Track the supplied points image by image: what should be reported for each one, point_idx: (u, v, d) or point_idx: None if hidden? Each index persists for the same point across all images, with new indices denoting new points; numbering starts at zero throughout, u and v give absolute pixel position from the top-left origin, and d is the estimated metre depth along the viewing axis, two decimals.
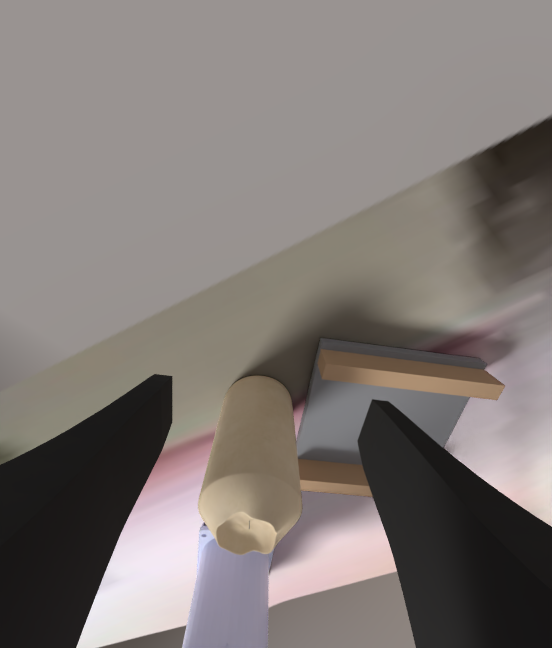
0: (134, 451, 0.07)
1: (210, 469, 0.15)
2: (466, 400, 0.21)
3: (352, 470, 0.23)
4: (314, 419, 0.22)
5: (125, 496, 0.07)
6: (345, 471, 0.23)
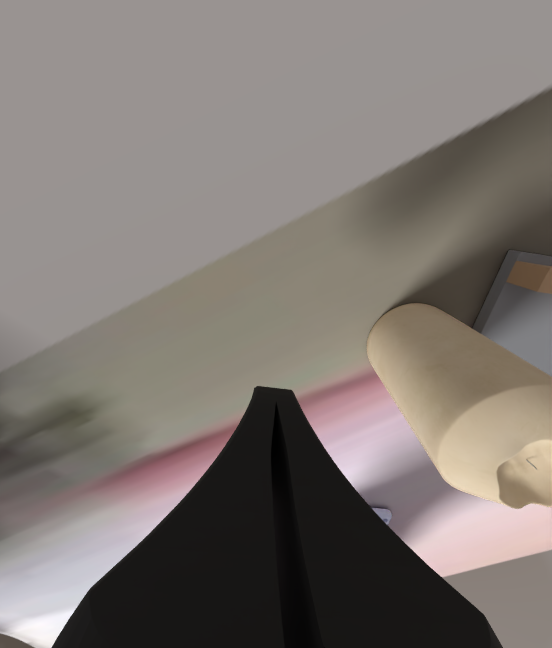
0: None
1: (449, 391, 0.10)
2: None
3: None
4: None
5: None
6: None
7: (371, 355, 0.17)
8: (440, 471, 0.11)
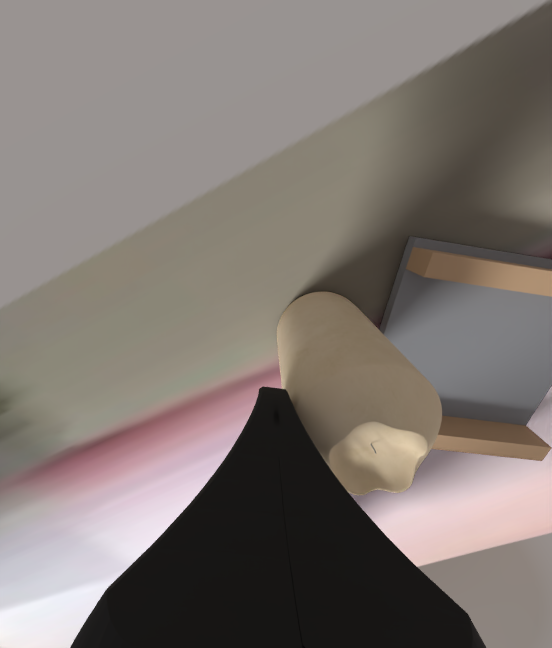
0: None
1: (302, 375, 0.10)
2: None
3: None
4: None
5: None
6: None
7: (277, 345, 0.16)
8: None
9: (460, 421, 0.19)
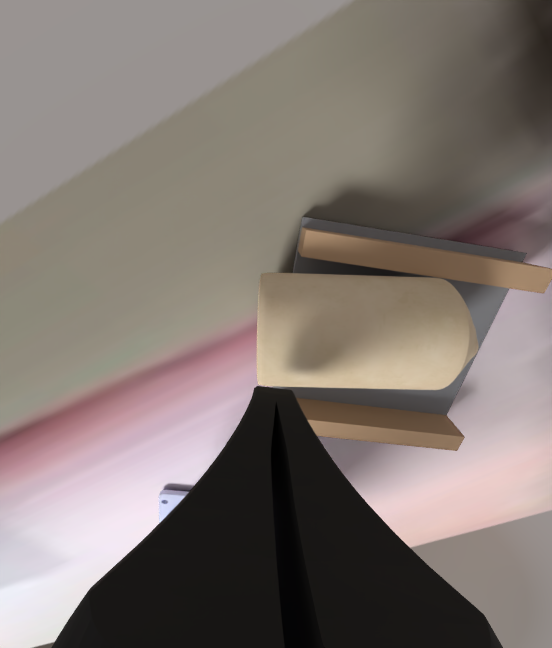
0: None
1: (440, 303, 0.11)
2: (496, 310, 0.16)
3: (346, 409, 0.18)
4: None
5: None
6: (337, 410, 0.18)
7: (286, 350, 0.11)
8: (458, 374, 0.12)
9: (376, 410, 0.19)
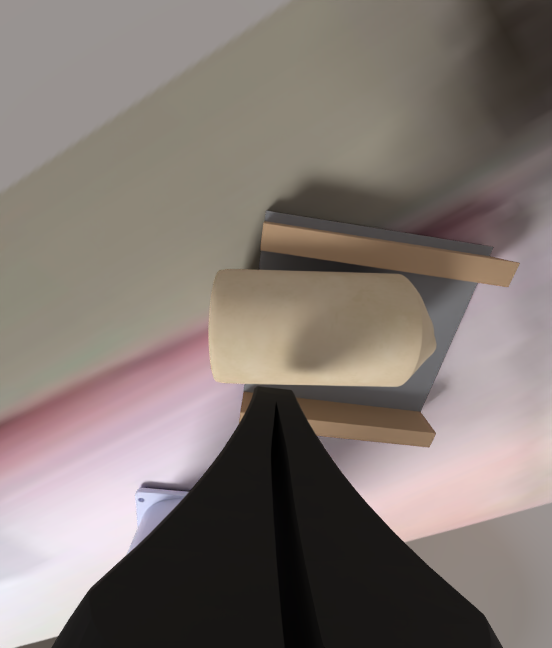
0: None
1: (394, 301, 0.11)
2: (465, 305, 0.16)
3: (317, 406, 0.18)
4: None
5: None
6: (308, 406, 0.18)
7: (237, 349, 0.11)
8: (413, 372, 0.12)
9: (348, 407, 0.18)
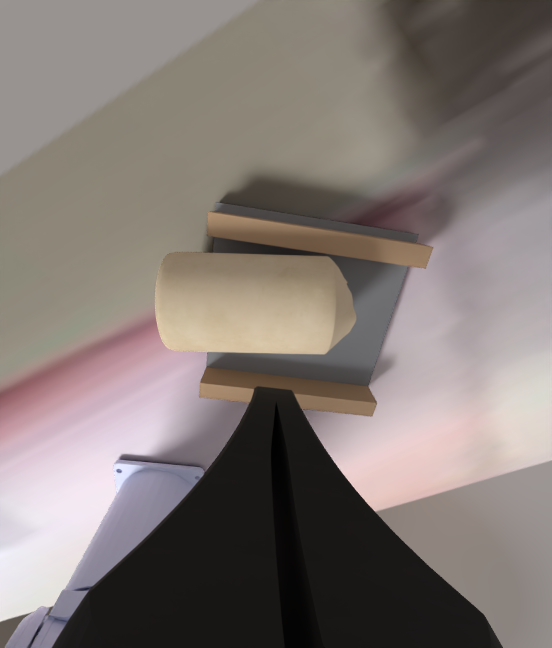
0: None
1: (314, 276, 0.13)
2: (399, 287, 0.18)
3: (272, 379, 0.20)
4: None
5: None
6: (263, 380, 0.20)
7: (179, 317, 0.13)
8: (332, 338, 0.14)
9: (301, 381, 0.20)
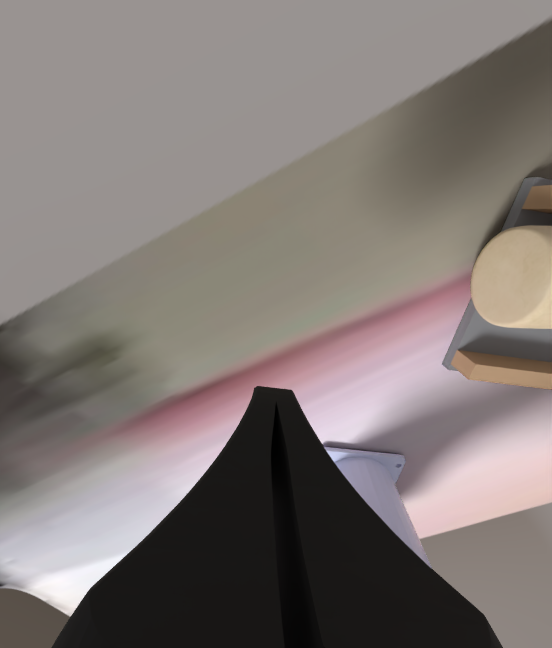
0: None
1: None
2: None
3: (527, 362, 0.20)
4: None
5: None
6: (521, 362, 0.19)
7: None
8: None
9: None
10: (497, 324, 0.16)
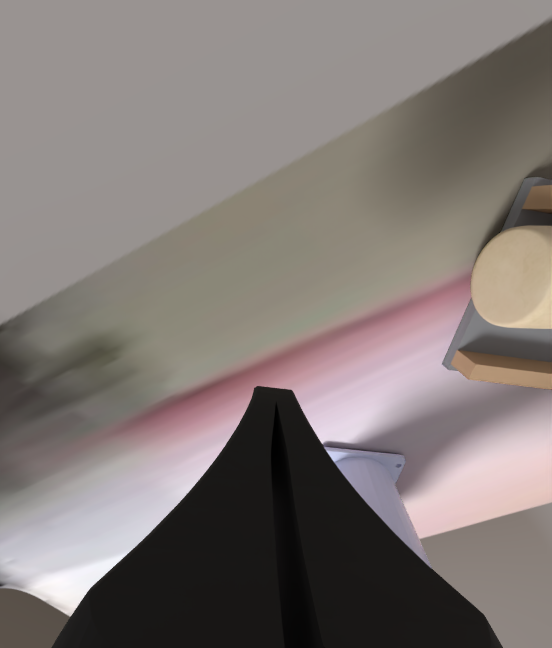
0: None
1: None
2: None
3: (527, 362, 0.20)
4: None
5: None
6: (521, 362, 0.19)
7: None
8: None
9: None
10: (497, 324, 0.16)
